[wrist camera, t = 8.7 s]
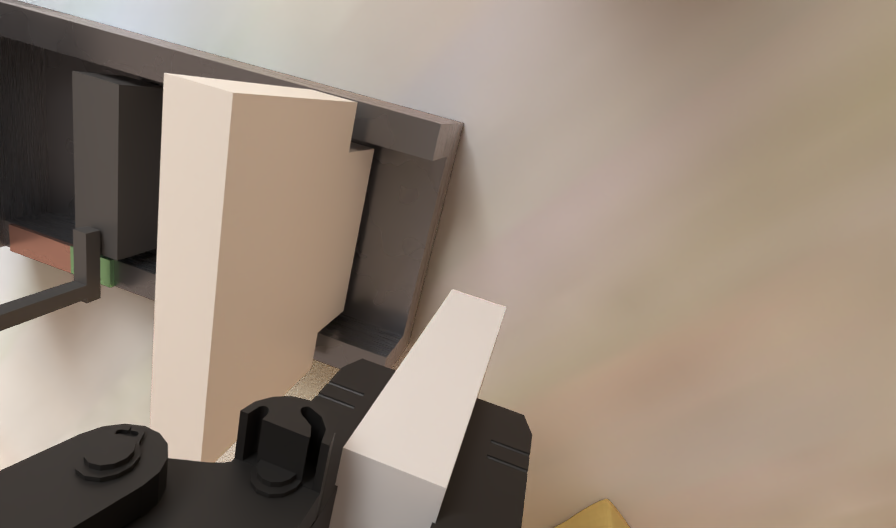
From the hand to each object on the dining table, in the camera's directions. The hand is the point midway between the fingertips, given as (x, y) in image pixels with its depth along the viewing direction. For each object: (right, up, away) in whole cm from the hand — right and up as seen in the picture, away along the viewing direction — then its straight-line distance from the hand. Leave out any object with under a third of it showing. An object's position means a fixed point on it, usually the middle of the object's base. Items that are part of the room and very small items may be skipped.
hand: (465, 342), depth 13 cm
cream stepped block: (-6, +4, +6) cm, 10 cm away
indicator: (-14, +5, +8) cm, 16 cm away
